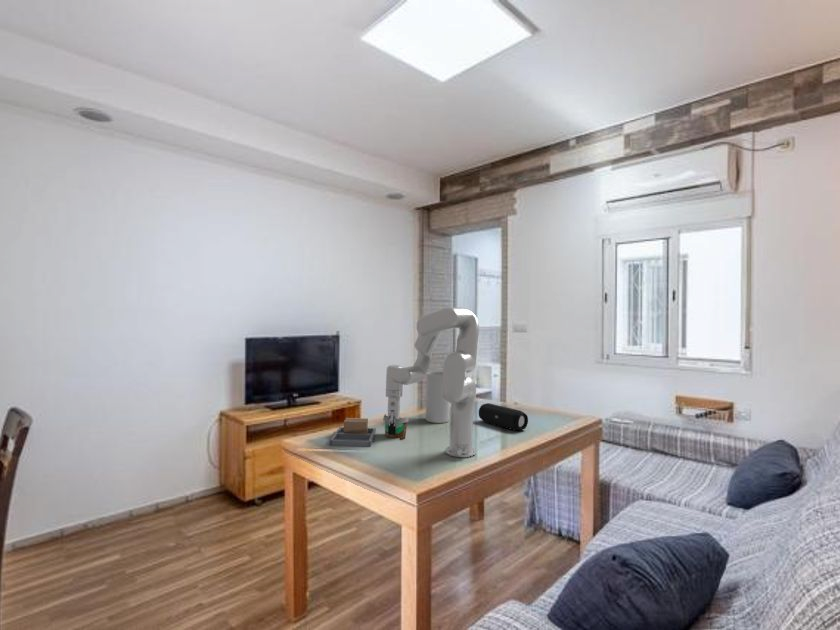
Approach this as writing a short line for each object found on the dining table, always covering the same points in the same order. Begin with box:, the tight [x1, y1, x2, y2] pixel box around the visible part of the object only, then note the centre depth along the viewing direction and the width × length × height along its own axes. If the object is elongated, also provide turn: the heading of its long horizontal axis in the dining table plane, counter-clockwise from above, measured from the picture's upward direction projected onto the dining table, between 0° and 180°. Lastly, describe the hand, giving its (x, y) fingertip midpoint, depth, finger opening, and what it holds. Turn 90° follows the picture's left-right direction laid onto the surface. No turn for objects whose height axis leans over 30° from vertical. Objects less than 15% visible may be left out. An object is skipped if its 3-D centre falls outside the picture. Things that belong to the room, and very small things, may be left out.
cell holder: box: [329, 426, 377, 448], centre depth 199 cm, size 21×17×3 cm
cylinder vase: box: [425, 371, 451, 424], centre depth 239 cm, size 12×12×25 cm
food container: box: [382, 413, 410, 441], centre depth 204 cm, size 12×6×10 cm, turn 67°
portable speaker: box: [478, 402, 529, 431], centre depth 232 cm, size 26×10×10 cm, turn 41°
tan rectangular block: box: [343, 417, 369, 434], centre depth 204 cm, size 6×10×7 cm, turn 90°
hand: (392, 431), depth 204 cm, fingers closed on food container, 6 cm apart
